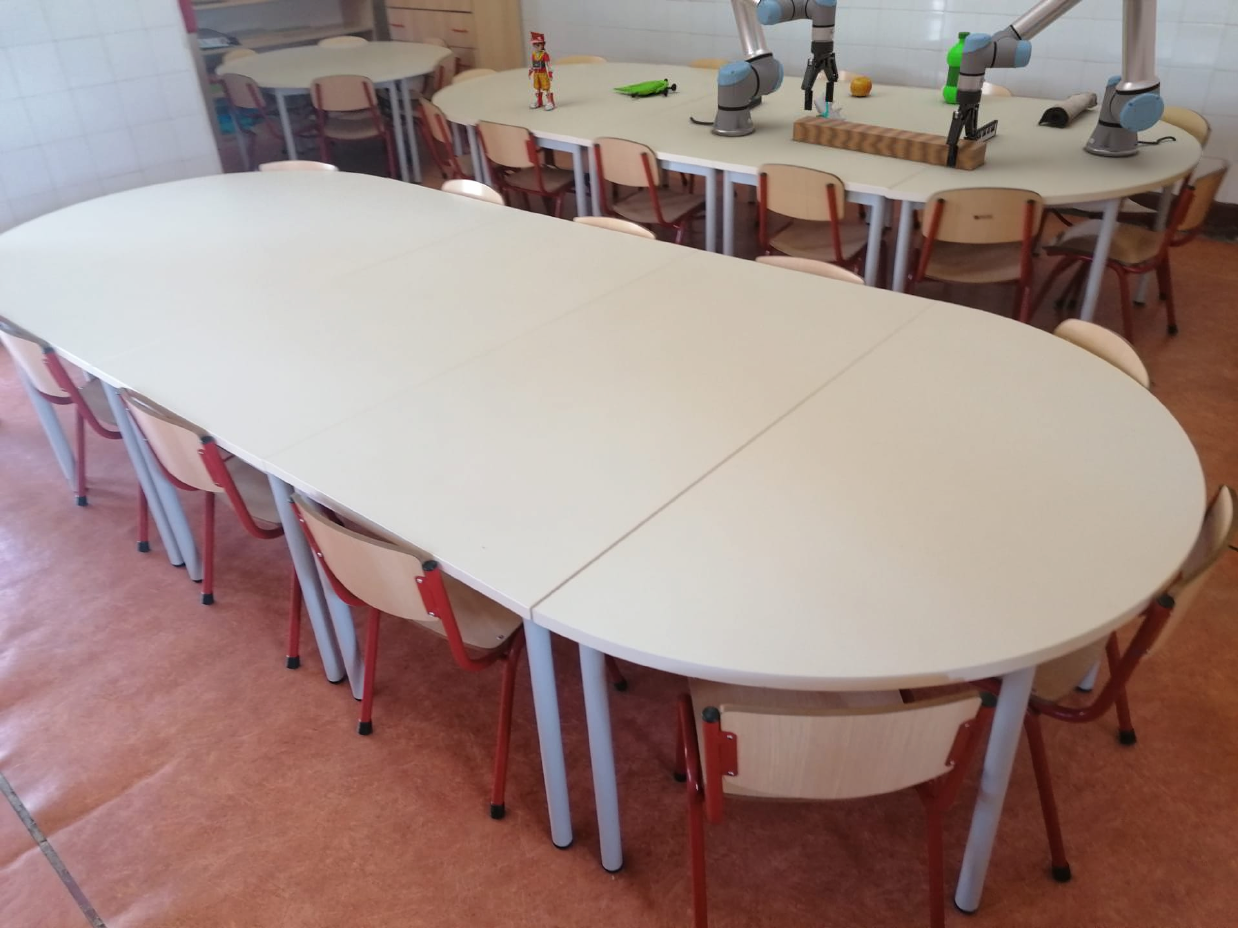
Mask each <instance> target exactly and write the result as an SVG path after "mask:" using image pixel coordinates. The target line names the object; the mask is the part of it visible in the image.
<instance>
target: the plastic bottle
mask: <svg viewBox="0 0 1238 928" xmlns="http://www.w3.org/2000/svg"><path fill="white" fill-rule="evenodd" d="M970 34H971V32H970V31H959V32H958V36H957V39H958V42H957V43H956V44H954V45H953V46H952V47H951V48H950V49H949V50H948V52H947V54H946V63H947V64H948V69H947V70H948V71H947V76H946V77H947V78H946V84H945V85H944V87H943V90H942V97H943V99H944V100H945V101H946V102H947V103H948V104H958V103H957V102H956V101H955V98H956V91H957V89H959V88H958V87H957V84H958V78H959V73H960V66H961V59H962V50H963V47H964V42H965V38H966V37H967V36H968V35H970Z"/></svg>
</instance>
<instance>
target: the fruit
mask: <svg viewBox="0 0 1238 928" xmlns="http://www.w3.org/2000/svg"><path fill="white" fill-rule="evenodd" d="M872 88H873V84H872V81H871V79H870V78H868V77H866V76H859V77H856V78H854V79H853V80H852V81H851V82H850V86H849V89H850V90H849V91H850V92H851V94H852V95H853V96H855V97H865V96H868V95H869V94H870V93H871V91H872Z"/></svg>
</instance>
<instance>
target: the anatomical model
mask: <svg viewBox="0 0 1238 928" xmlns="http://www.w3.org/2000/svg"><path fill="white" fill-rule="evenodd" d="M825 97H826V91H825V92H822V94H821V95H820V97H817V98H814V99H813V105H814V106H815V109H816V111H817V113H818V114H819V115H822V116H823V118H827V119H833V120H840V121H846V120H847V117H846V116H842V115H840V113H841V111H842V110H843V107H842V106H839V107H837V108H833V107H832V106H833V105H834V104H835V100H833V102H832V103H831V102H825Z"/></svg>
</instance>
